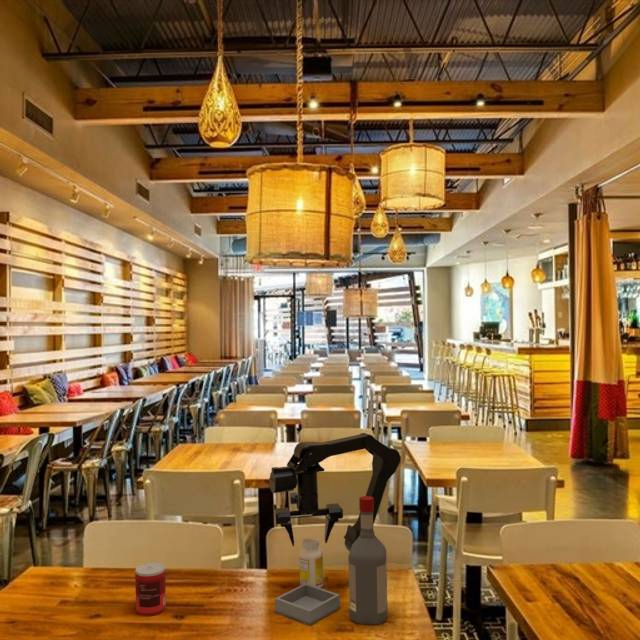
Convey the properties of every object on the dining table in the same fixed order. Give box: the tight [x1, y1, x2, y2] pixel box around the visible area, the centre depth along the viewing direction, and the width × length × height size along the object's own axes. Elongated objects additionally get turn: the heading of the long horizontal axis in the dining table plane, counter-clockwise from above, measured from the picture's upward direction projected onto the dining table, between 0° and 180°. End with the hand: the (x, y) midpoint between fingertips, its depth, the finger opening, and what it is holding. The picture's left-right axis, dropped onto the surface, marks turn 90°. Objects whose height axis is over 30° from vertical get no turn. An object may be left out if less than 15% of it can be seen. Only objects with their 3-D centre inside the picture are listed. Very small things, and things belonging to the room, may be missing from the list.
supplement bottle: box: [299, 537, 324, 589], centre depth 179 cm, size 7×7×13 cm
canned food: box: [134, 562, 167, 617], centre depth 166 cm, size 8×8×11 cm
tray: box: [274, 583, 341, 626], centre depth 164 cm, size 12×12×4 cm
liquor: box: [347, 495, 389, 626], centre depth 160 cm, size 9×9×30 cm
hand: (309, 544), depth 176 cm, fingers open, 9 cm apart
